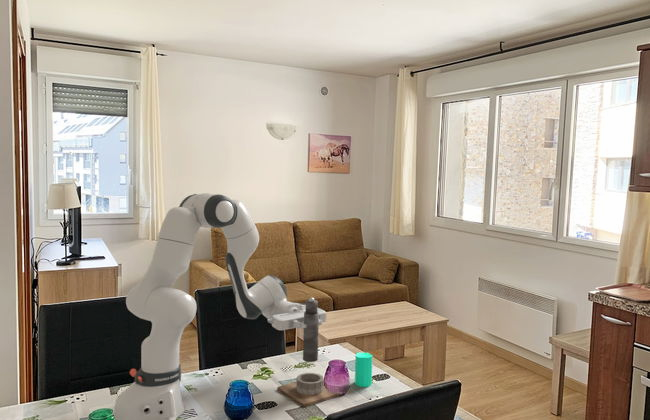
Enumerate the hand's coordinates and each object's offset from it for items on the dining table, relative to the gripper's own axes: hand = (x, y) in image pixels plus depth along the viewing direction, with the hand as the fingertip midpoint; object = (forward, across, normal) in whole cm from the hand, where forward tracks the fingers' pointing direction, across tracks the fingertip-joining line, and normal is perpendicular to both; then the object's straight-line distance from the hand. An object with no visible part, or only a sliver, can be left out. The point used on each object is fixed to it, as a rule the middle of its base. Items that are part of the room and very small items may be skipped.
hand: (312, 324), depth 168 cm
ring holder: (-1, 0, +24) cm, 24 cm away
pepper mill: (-1, 0, +12) cm, 12 cm away
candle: (+4, +20, +24) cm, 32 cm away
